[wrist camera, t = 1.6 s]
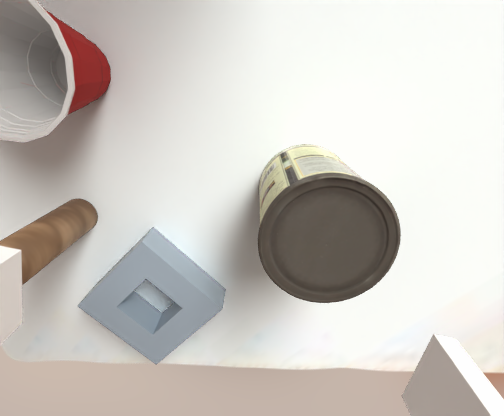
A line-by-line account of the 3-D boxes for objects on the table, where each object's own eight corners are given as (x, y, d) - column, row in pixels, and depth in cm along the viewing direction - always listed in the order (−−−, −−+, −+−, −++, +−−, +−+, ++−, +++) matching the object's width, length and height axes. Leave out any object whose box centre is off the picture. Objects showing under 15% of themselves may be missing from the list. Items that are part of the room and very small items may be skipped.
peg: (57, 214, 39) (-60, 285, 25) (76, 191, 38) (-34, 252, 24) (84, 236, 40) (-13, 317, 26) (104, 215, 39) (14, 286, 25)
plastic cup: (10, 79, 34) (-116, 73, 23) (61, -15, 31) (-54, -76, 20) (100, 147, 36) (26, 174, 25) (155, 66, 33) (101, 53, 22)
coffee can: (345, 231, 39) (390, 305, 25) (258, 230, 39) (257, 302, 26) (355, 143, 35) (412, 175, 22) (259, 142, 35) (258, 174, 22)
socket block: (93, 286, 42) (77, 306, 38) (153, 226, 39) (141, 241, 35) (165, 341, 45) (156, 364, 41) (225, 289, 42) (222, 309, 38)
